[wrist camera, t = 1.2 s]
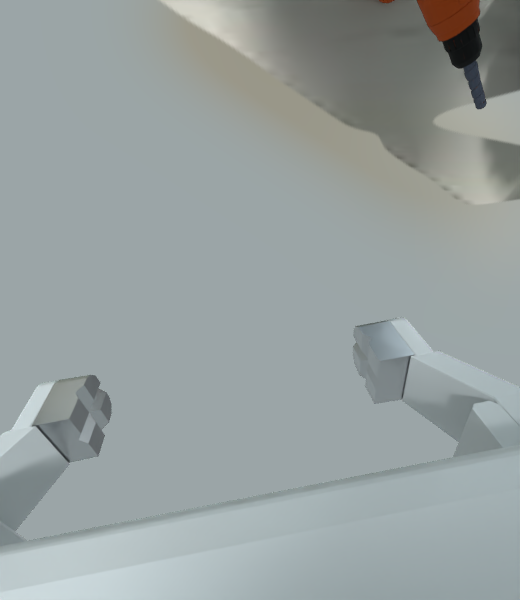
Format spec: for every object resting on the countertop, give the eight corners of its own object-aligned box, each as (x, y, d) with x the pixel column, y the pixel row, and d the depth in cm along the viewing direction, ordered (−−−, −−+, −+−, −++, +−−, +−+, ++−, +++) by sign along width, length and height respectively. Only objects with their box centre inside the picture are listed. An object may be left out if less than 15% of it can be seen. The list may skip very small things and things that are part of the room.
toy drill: (414, 100, 43) (471, 132, 32) (346, -65, 33) (394, -104, 22) (452, 72, 41) (527, 95, 29) (391, -113, 31) (470, -183, 20)
